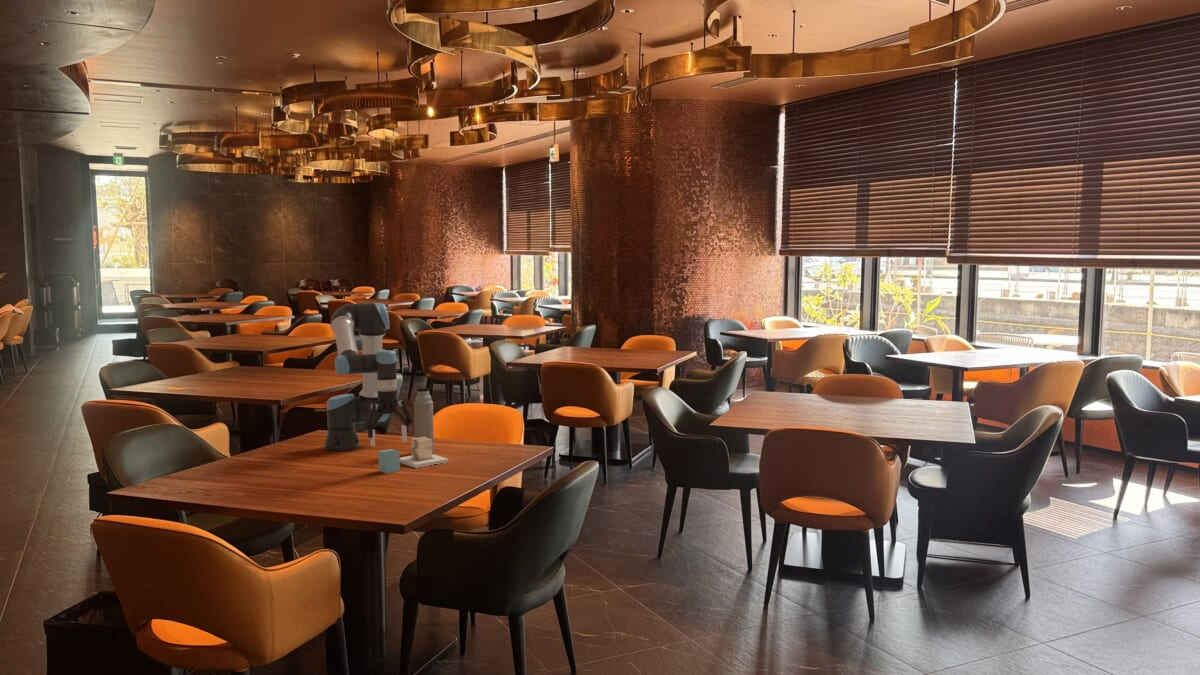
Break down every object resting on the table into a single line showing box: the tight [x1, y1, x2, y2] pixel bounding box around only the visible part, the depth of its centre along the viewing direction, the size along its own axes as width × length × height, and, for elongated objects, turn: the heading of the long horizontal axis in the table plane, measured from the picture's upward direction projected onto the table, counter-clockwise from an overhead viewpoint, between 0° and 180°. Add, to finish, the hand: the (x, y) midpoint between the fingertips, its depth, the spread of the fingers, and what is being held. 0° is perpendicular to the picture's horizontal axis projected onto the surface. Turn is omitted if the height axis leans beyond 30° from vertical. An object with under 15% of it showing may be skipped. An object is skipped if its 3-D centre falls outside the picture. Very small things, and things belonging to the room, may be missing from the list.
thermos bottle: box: [413, 387, 435, 454], centre depth 385 cm, size 8×8×28 cm
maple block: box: [411, 437, 432, 460], centre depth 369 cm, size 6×6×8 cm
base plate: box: [400, 453, 449, 469], centre depth 369 cm, size 16×15×2 cm
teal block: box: [377, 448, 401, 474], centre depth 354 cm, size 6×6×8 cm
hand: (388, 443), depth 353 cm, fingers open, 13 cm apart
